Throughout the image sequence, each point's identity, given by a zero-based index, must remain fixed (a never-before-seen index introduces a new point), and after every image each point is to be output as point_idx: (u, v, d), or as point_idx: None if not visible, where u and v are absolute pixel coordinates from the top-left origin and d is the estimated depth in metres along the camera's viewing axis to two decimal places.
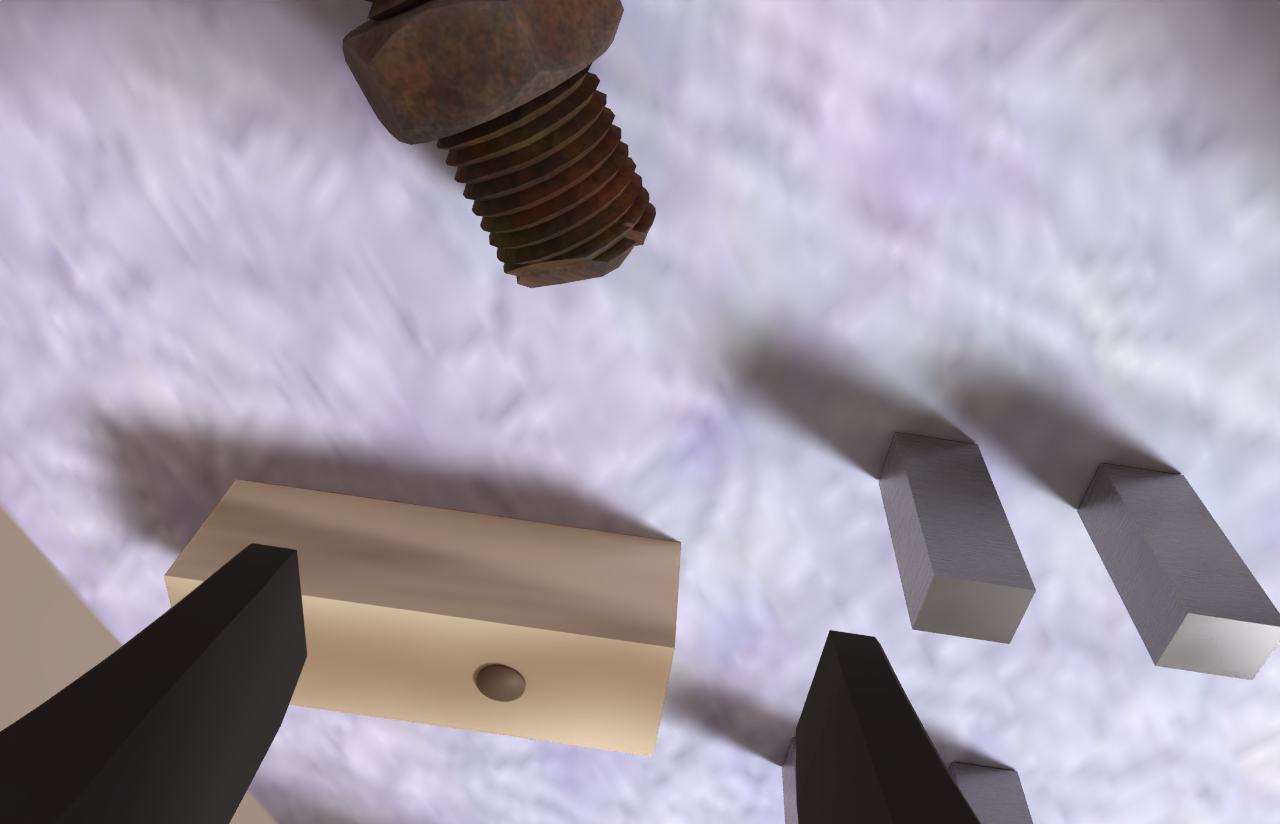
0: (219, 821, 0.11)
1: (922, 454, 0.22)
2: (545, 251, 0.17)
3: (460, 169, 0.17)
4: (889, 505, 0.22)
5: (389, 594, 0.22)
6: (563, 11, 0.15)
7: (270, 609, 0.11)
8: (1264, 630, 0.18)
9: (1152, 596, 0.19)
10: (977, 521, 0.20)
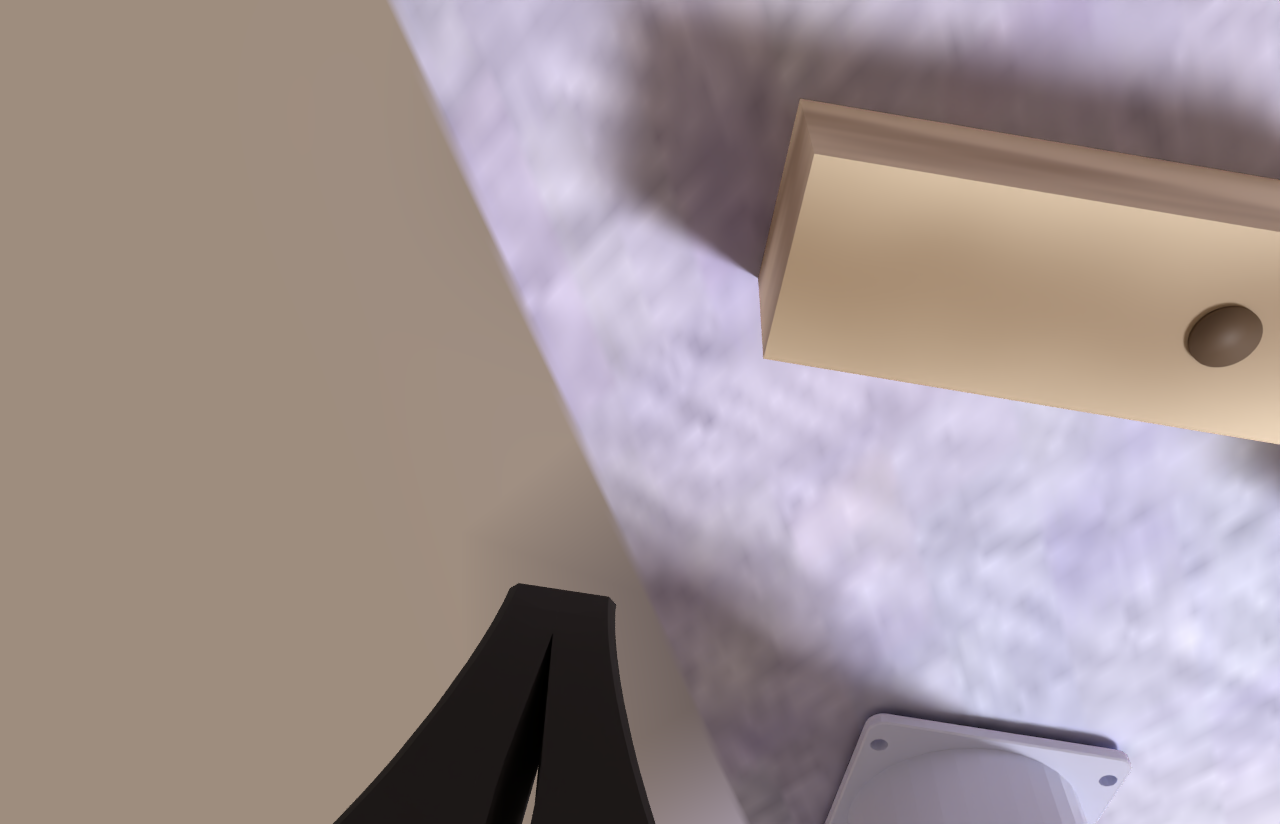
0: None
1: None
2: None
3: None
4: None
5: (1107, 196, 0.16)
6: None
7: None
8: None
9: None
10: None
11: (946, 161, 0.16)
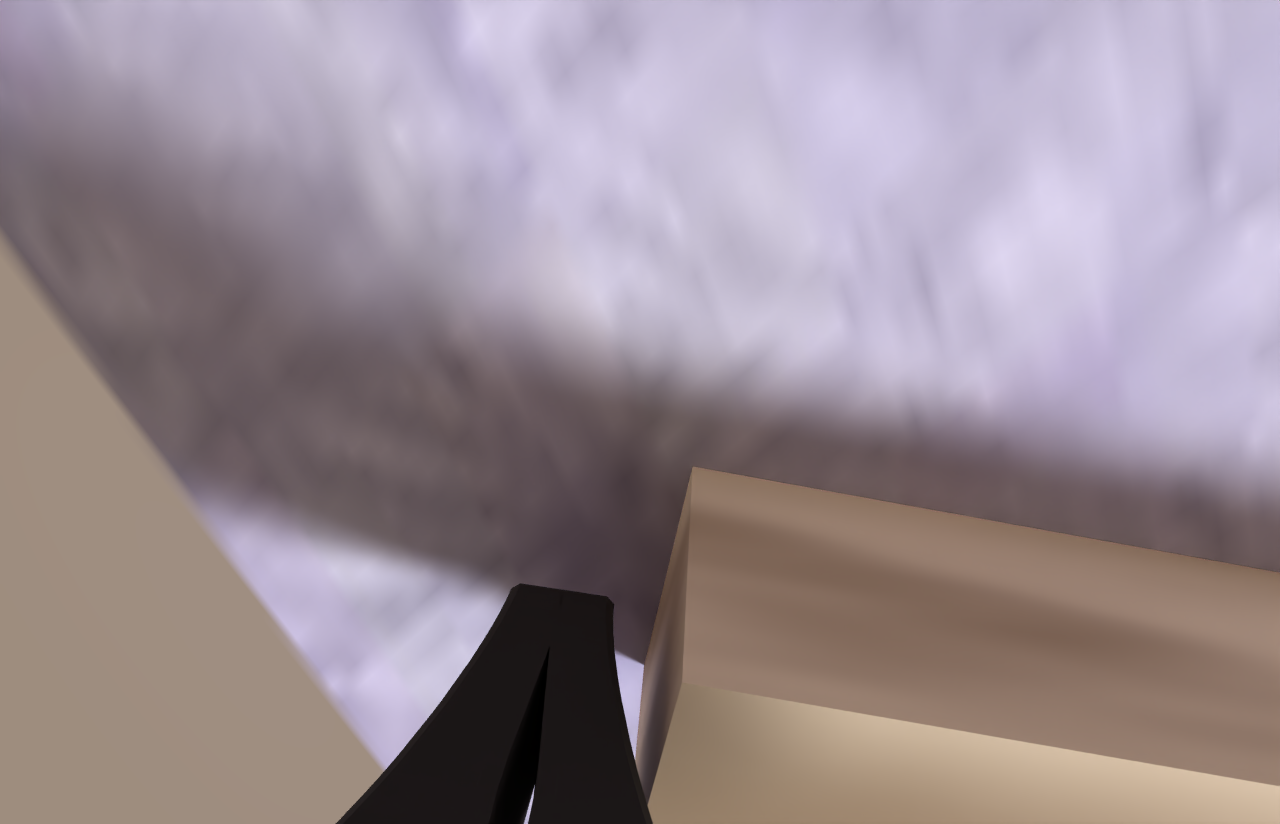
0: None
1: None
2: None
3: None
4: None
5: (1158, 735, 0.10)
6: None
7: None
8: None
9: None
10: None
11: (901, 657, 0.10)
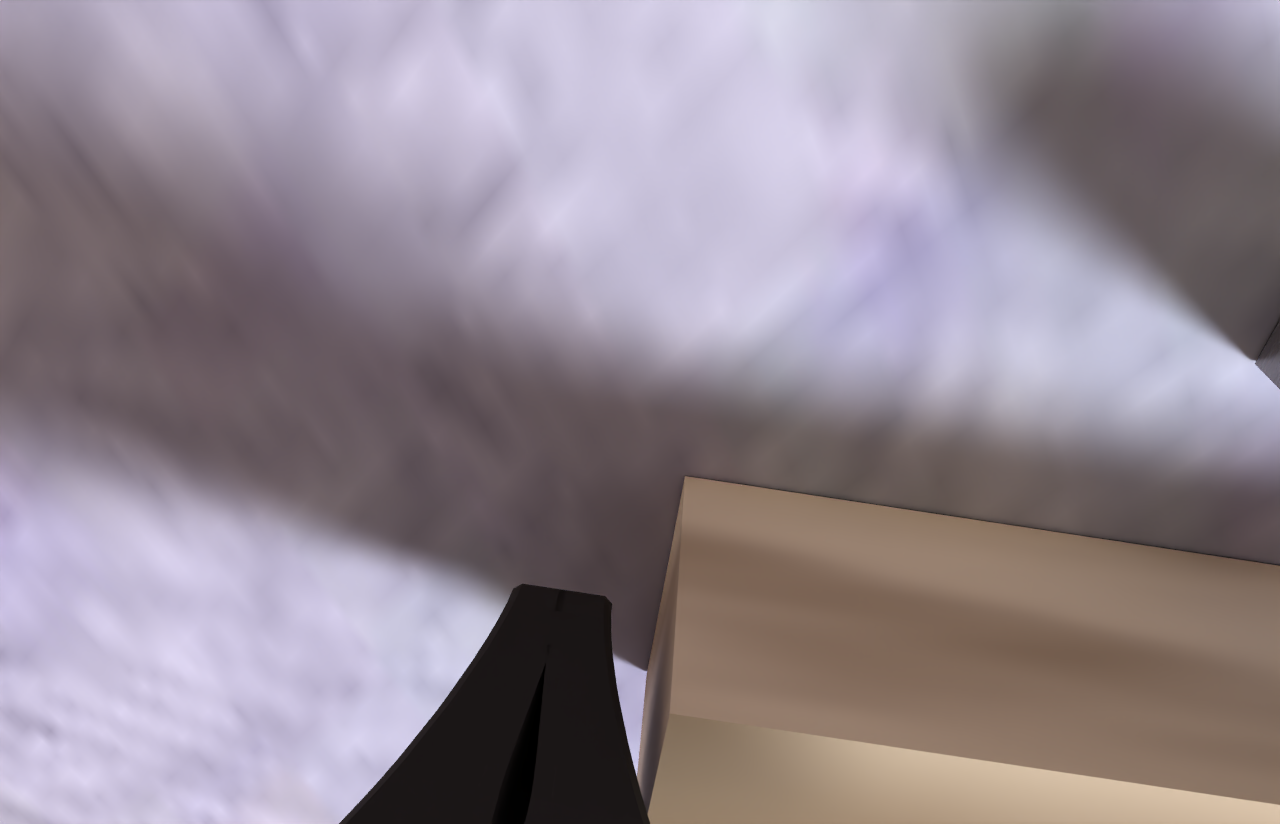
0: None
1: None
2: None
3: None
4: None
5: (1162, 755, 0.10)
6: None
7: None
8: None
9: None
10: None
11: (895, 680, 0.10)
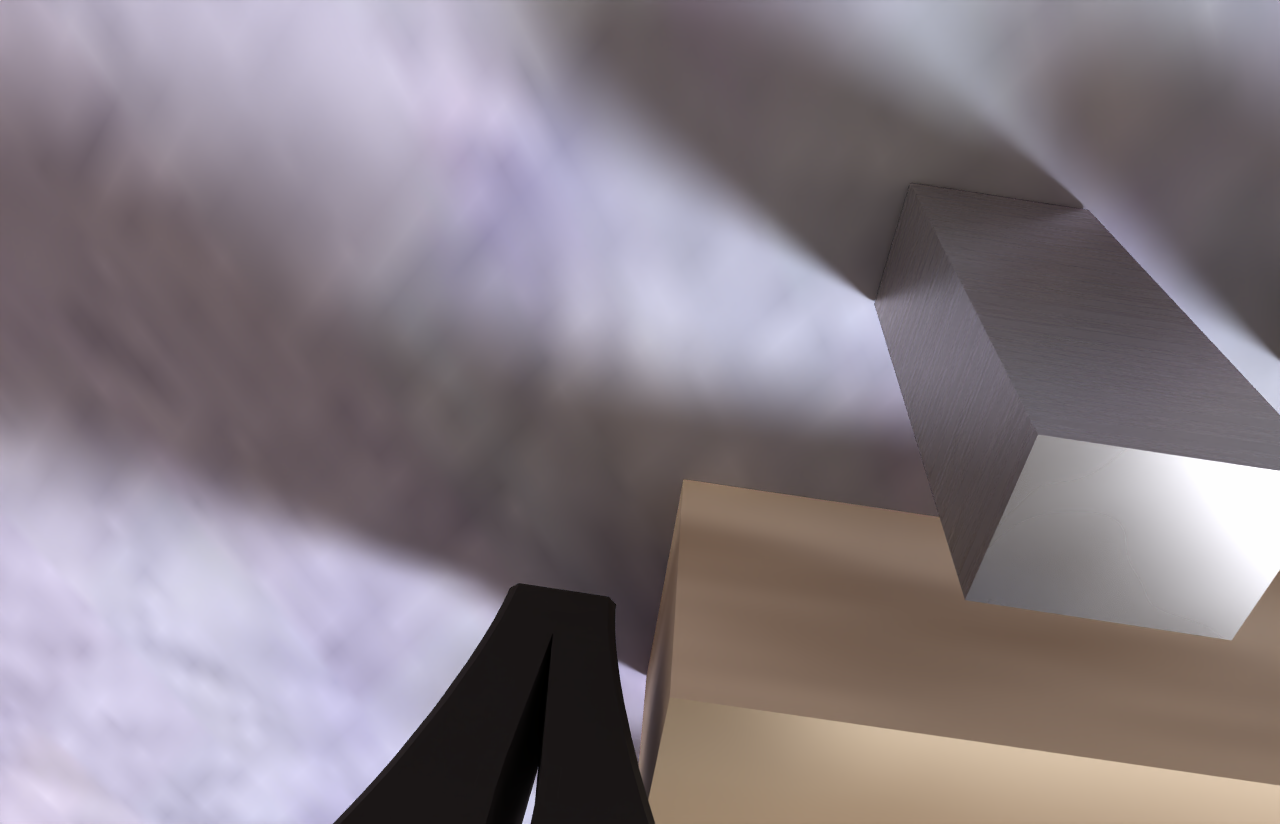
0: None
1: (972, 215, 0.10)
2: None
3: None
4: (898, 333, 0.10)
5: (1147, 735, 0.10)
6: None
7: None
8: None
9: None
10: (1126, 327, 0.08)
11: (889, 664, 0.10)
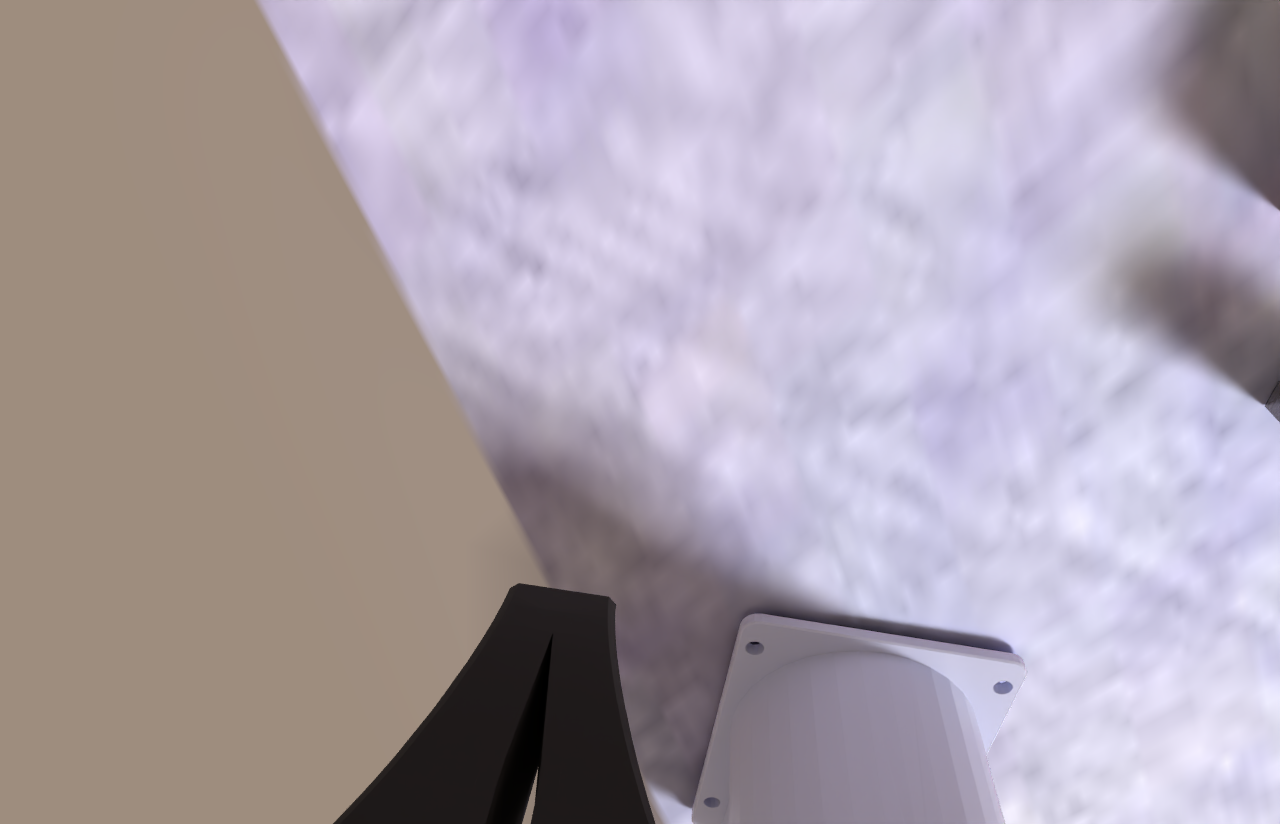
0: None
1: None
2: None
3: None
4: None
5: None
6: None
7: None
8: None
9: None
10: None
11: None
